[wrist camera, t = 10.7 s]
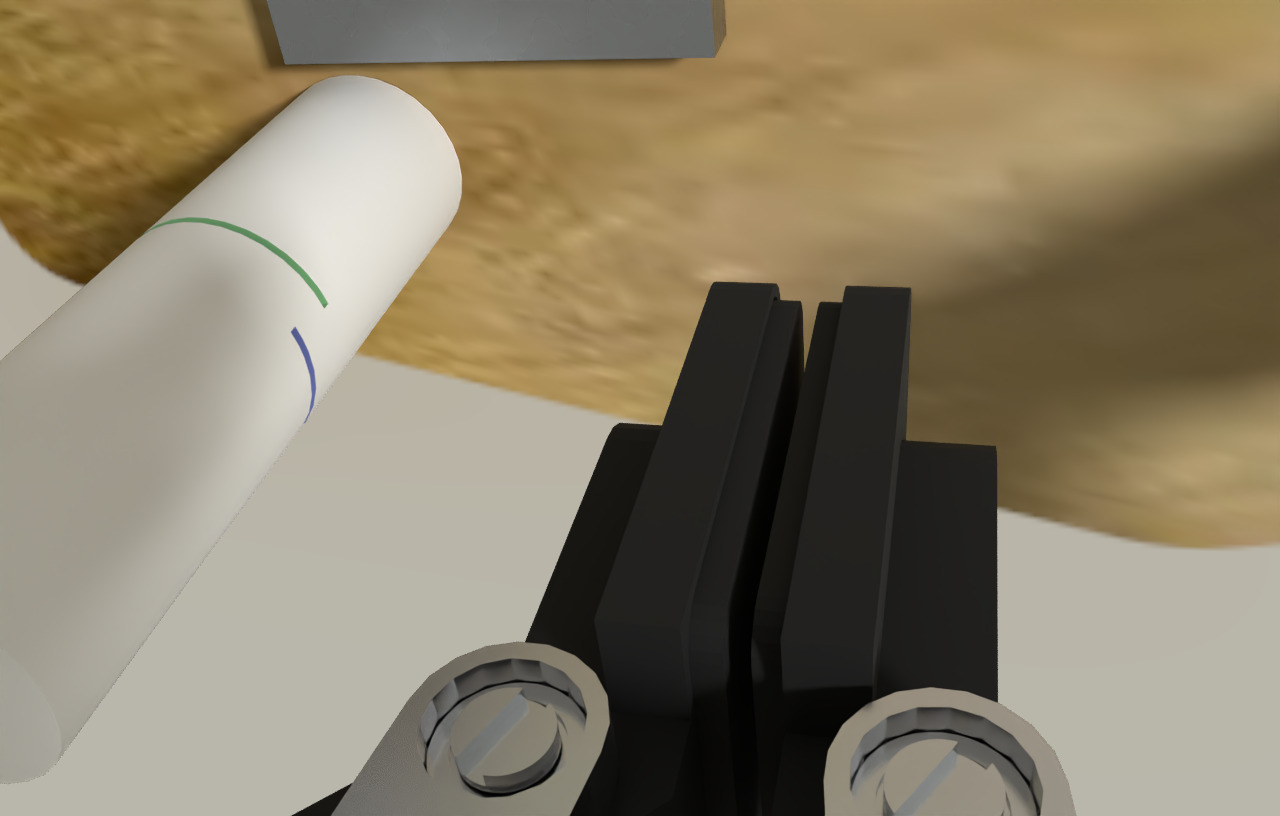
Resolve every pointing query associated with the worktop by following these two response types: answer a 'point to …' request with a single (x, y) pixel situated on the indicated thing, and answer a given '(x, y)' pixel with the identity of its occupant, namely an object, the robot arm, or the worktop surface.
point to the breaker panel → (495, 30)
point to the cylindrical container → (193, 386)
